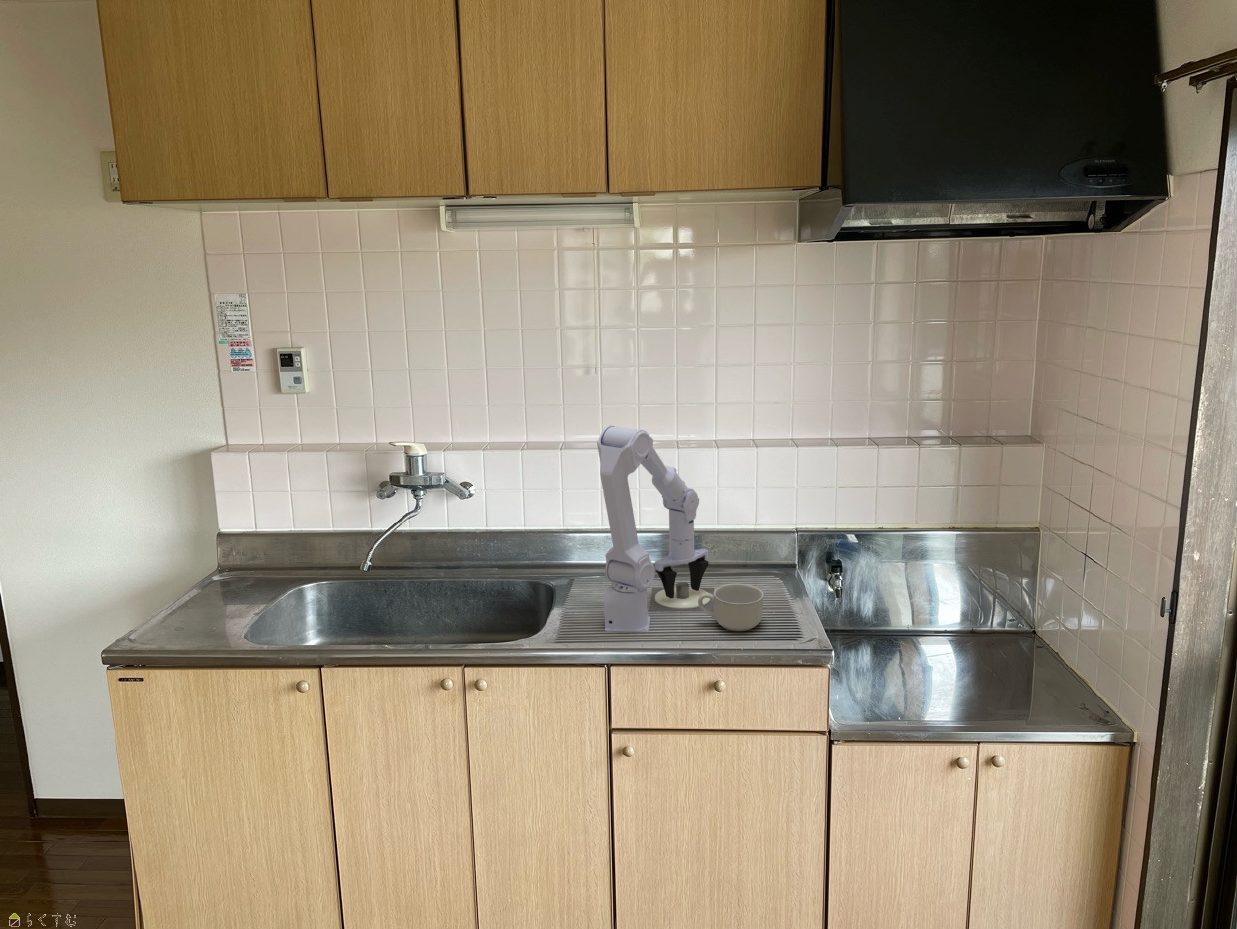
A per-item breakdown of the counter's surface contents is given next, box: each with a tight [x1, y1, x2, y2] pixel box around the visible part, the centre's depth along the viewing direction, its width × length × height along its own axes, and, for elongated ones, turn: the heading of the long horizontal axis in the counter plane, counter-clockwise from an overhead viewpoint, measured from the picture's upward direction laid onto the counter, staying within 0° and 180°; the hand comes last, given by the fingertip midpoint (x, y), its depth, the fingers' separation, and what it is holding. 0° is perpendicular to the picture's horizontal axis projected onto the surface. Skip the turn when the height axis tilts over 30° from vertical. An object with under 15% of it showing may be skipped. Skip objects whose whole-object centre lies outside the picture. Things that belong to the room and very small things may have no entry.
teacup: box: [698, 583, 765, 632], centre depth 198 cm, size 14×11×8 cm
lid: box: [655, 581, 710, 609], centre depth 214 cm, size 13×13×4 cm
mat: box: [648, 587, 715, 612], centre depth 215 cm, size 15×15×1 cm
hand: (682, 593), depth 214 cm, fingers open, 7 cm apart
